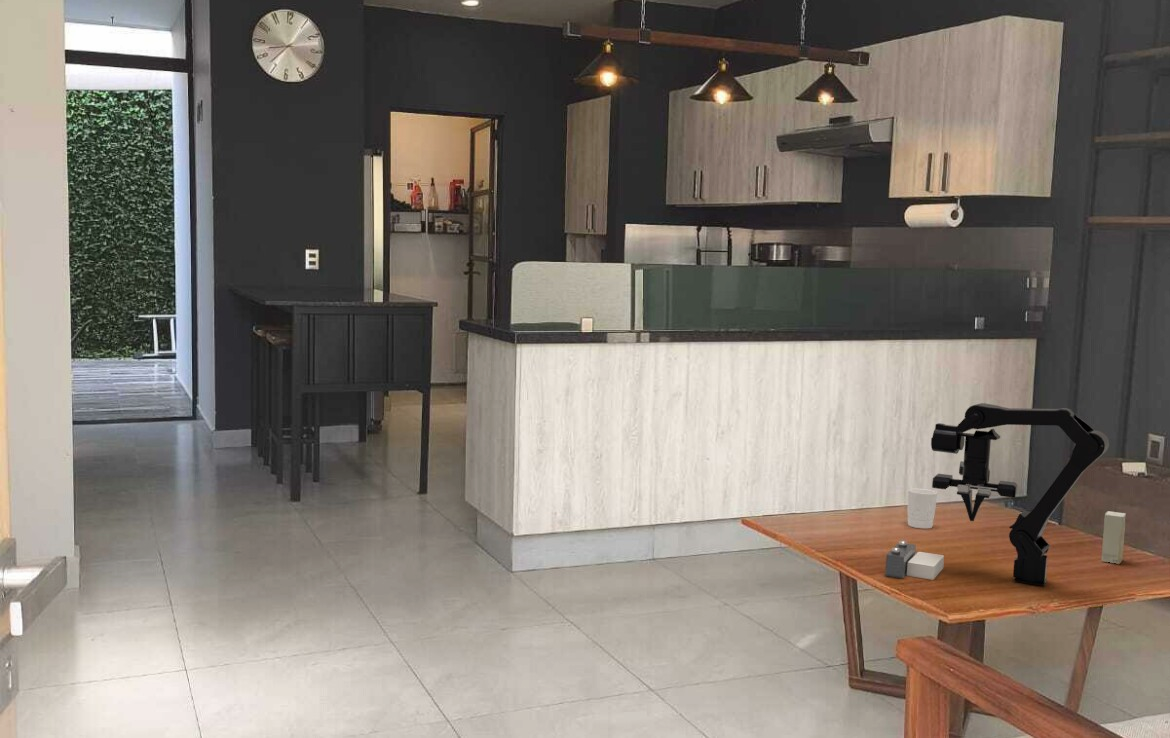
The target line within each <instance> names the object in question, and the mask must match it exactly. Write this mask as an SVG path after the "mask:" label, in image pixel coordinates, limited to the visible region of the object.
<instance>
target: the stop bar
mask: <svg viewBox="0 0 1170 738" xmlns="http://www.w3.org/2000/svg"><path fill="white" fill-rule="evenodd" d="M916 548H917V545H916V544H912V543H908V541H906V540H898V543H897V544H895V546H893V547H891V549H890V551H888V552H887V553H886V558H885V571H884V572H885V573H884V576H886V577H890V578H897V579H904V577H906V576H907V564H908V561H909V560H910V559H912V558H913V557H914V556H915V555H916V550H917V549H916Z"/></svg>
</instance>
